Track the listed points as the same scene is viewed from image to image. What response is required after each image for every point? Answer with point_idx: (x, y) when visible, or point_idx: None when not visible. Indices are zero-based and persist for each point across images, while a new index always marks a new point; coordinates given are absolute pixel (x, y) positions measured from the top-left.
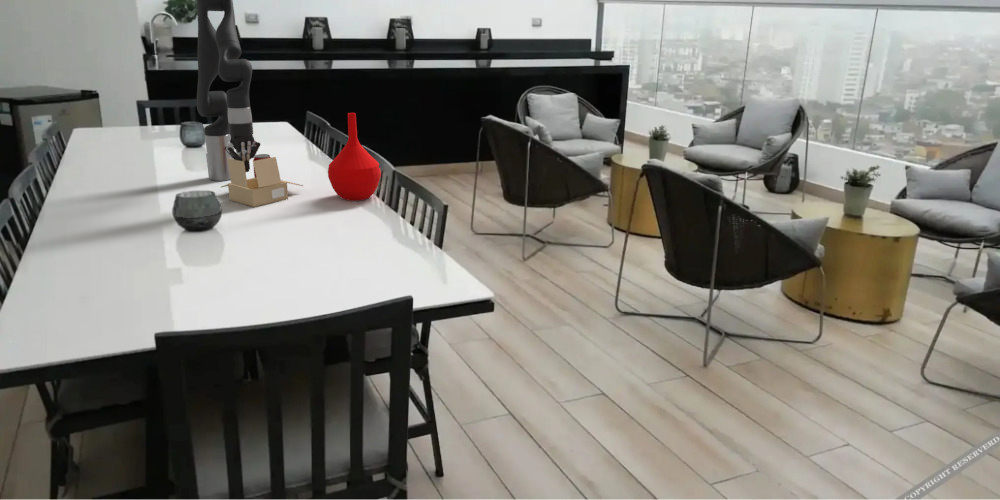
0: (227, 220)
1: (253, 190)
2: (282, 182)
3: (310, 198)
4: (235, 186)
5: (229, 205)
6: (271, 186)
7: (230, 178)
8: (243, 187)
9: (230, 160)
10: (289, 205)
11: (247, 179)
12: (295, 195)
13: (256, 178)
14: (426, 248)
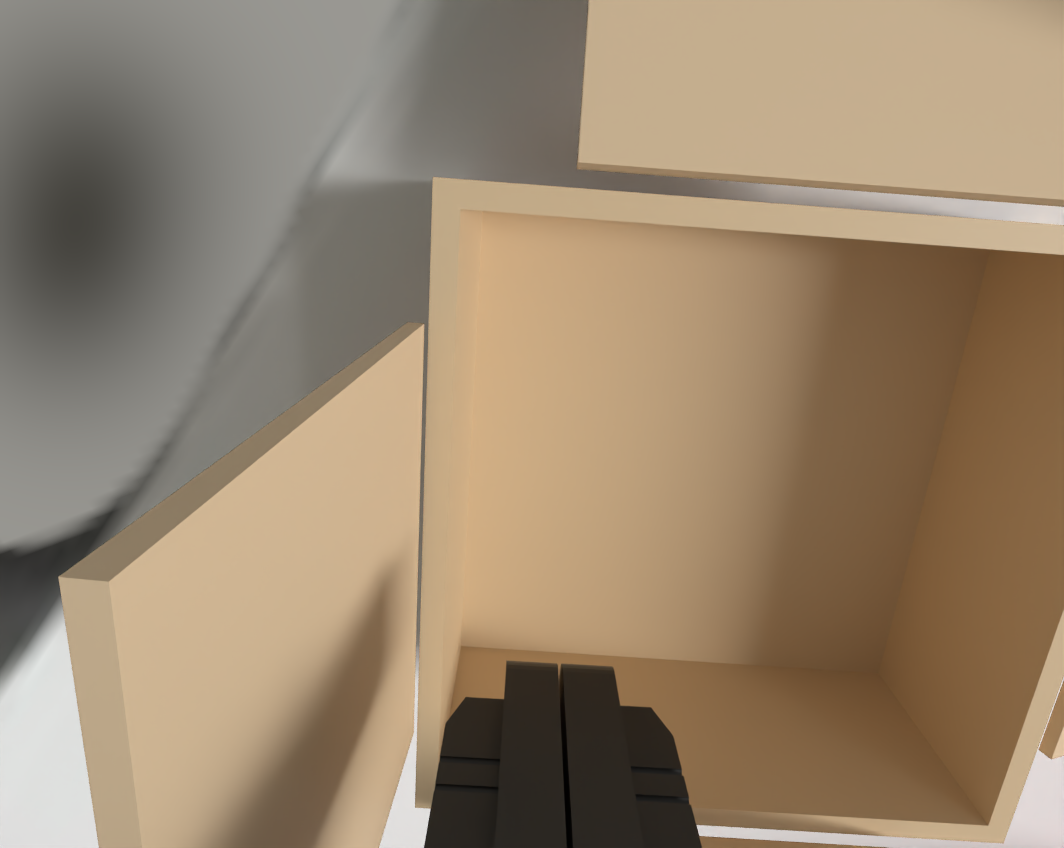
0: (14, 780)
1: (430, 802)
2: (998, 775)
3: (1015, 812)
4: (427, 411)
5: (319, 383)
6: (733, 819)
7: (380, 344)
8: (428, 612)
9: (147, 736)
10: (703, 834)
11: (877, 213)
12: None
13: (1053, 252)
14: None
